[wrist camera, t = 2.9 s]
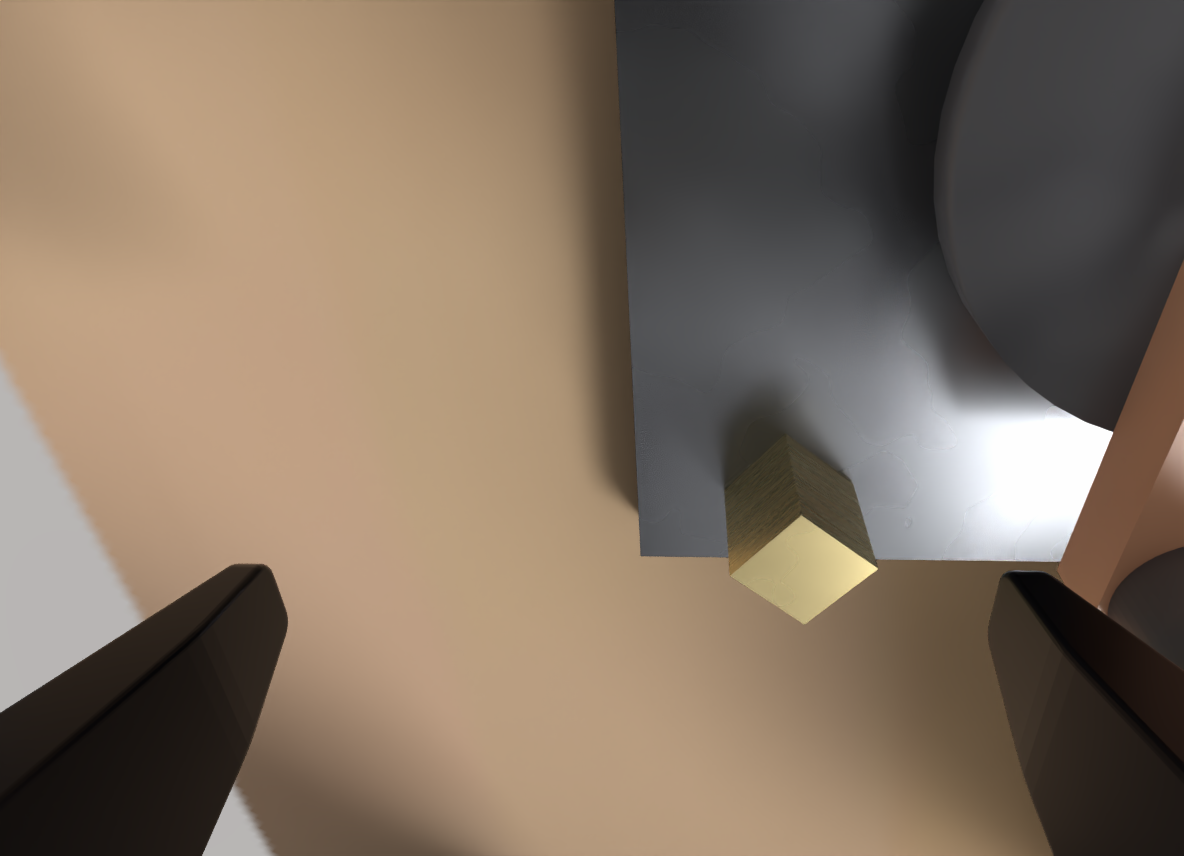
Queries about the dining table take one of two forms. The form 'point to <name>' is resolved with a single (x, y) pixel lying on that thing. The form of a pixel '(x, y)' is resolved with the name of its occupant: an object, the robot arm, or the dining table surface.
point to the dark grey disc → (1083, 262)
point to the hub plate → (816, 306)
